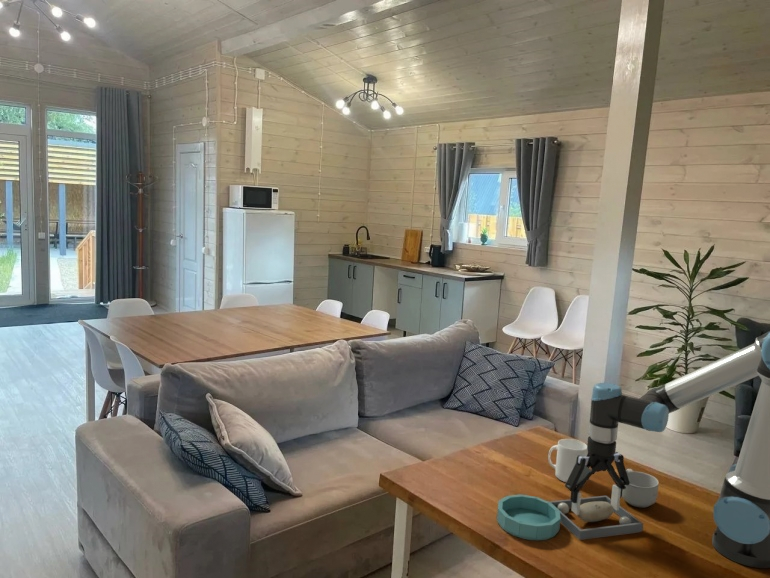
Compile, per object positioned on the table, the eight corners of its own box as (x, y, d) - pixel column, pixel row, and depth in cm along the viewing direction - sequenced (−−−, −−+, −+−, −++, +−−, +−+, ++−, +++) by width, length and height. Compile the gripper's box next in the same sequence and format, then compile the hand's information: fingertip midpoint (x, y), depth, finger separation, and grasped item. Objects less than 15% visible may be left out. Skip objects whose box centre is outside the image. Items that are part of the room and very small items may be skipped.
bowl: (570, 537, 159) (572, 522, 158) (515, 544, 154) (516, 528, 153) (538, 506, 175) (539, 492, 174) (486, 511, 170) (487, 497, 169)
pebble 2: (633, 530, 164) (634, 519, 164) (623, 531, 163) (624, 520, 163) (625, 524, 167) (626, 513, 167) (616, 525, 166) (617, 514, 166)
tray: (642, 531, 163) (643, 523, 163) (579, 540, 158) (580, 531, 157) (605, 503, 179) (606, 495, 178) (546, 509, 173) (547, 501, 173)
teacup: (659, 514, 174) (663, 488, 173) (621, 508, 176) (624, 483, 175) (648, 492, 187) (651, 468, 186) (613, 487, 190) (615, 464, 188)
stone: (621, 511, 168) (596, 509, 161) (608, 527, 169) (583, 526, 163) (606, 496, 172) (581, 494, 166) (594, 512, 174) (569, 511, 167)
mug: (586, 486, 189) (589, 452, 188) (547, 480, 192) (550, 446, 190) (583, 473, 198) (586, 440, 197) (546, 468, 201) (549, 436, 199)
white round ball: (570, 515, 170) (571, 505, 170) (561, 516, 169) (562, 506, 169) (564, 510, 173) (565, 500, 173) (554, 511, 172) (555, 501, 172)
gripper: (629, 430, 172) (622, 499, 175) (556, 436, 165) (550, 508, 168) (648, 440, 165) (640, 512, 167) (571, 446, 158) (565, 521, 161)
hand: (595, 510), depth 168 cm, fingers closed on stone, 12 cm apart
